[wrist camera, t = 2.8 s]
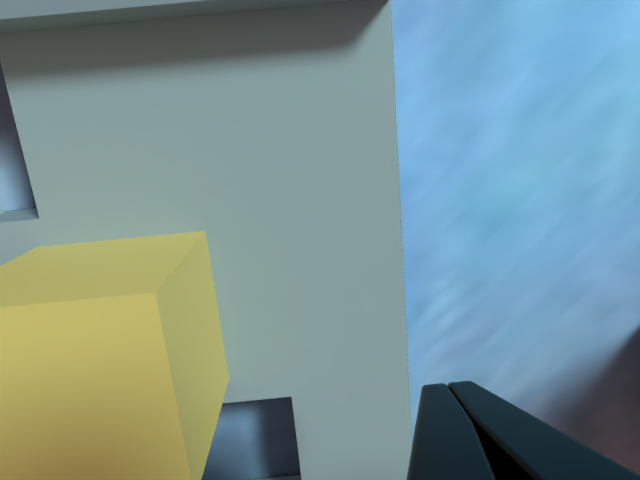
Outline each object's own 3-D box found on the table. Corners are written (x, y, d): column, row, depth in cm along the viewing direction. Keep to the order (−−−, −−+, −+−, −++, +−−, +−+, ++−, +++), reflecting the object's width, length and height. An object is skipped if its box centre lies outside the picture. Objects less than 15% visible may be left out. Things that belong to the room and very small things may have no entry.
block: (205, 231, 13) (155, 292, 9) (229, 379, 14) (195, 500, 10) (36, 247, 13) (-100, 317, 9) (74, 395, 14) (-28, 523, 10)
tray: (376, -26, 13) (400, -72, 10) (403, 487, 18) (427, 576, 14) (-248, 32, 13) (-440, 5, 10) (-61, 533, 18) (-148, 634, 14)
